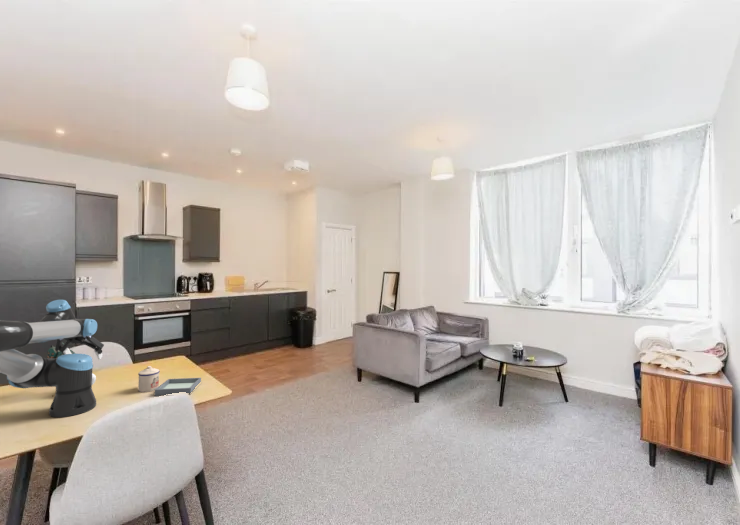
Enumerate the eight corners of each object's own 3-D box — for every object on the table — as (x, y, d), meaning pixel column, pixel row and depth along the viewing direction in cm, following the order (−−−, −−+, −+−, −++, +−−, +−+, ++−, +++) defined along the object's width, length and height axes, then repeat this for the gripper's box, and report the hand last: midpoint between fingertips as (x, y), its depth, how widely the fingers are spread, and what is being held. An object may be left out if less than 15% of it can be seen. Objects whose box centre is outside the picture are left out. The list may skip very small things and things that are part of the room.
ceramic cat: (44, 378, 179) (45, 341, 179) (58, 374, 185) (59, 339, 185) (70, 382, 173) (71, 345, 173) (83, 378, 179) (85, 342, 180)
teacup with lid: (153, 392, 162) (154, 368, 163) (133, 393, 161) (134, 369, 161) (165, 383, 174) (165, 361, 174) (146, 384, 173) (147, 362, 173)
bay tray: (190, 394, 161) (190, 388, 161) (154, 396, 158) (154, 389, 158) (201, 383, 176) (201, 377, 176) (168, 384, 173) (168, 378, 173)
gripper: (102, 321, 161) (116, 351, 173) (44, 323, 157) (62, 353, 168) (94, 332, 155) (109, 362, 166) (33, 334, 151) (53, 365, 162)
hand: (86, 358), depth 167 cm, fingers open, 13 cm apart
